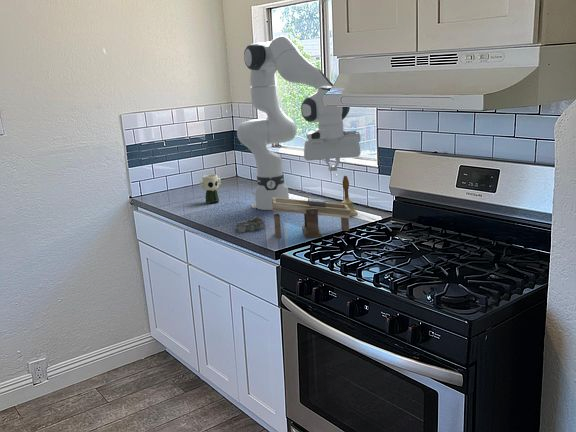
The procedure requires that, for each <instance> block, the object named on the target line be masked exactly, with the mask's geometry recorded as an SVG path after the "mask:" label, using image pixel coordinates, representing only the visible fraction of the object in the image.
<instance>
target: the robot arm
mask: <svg viewBox="0 0 576 432" xmlns="http://www.w3.org/2000/svg"><path fill="white" fill-rule="evenodd" d="M243 60H244V63H245V66H246V67H247V68H248V69H249V70H250V79H249V80H250V94H251V104H252V106H253V108H255V109H256V110H258V111H261V112H263V113H265V114H266V116H267V117H266V118H257V119H249V120H245V121H243V122H240V123H239V125H238V126H237V131H236V136H237V139H238V140H239V142H240V143H241V144H242V145H243V146H244V147H246V148H248V149H249V151H251V153H252V155H253V156H254V160H255V164H256V171H257V176H256V182H257V183H256V184H257V186H256V187H255V189H254V195H253V196H254V202H253V203H252V204H251V207H252V208H251V209H256V208H257V210H263V211H271V210H272V198H273V197H275V198H285V199H290V197H289V195H290V194H289V188H288V186H287V185H286V184H285V176H284V175H285V174H284V173H283V160H282V157H281V156H280V154H278V153H276V152H274V151H272V150H270V149H268V148H267V145H273V144H283V143H287V142H290V141H292V140H294V138H295V137H296V135H297V126H296V123H295V122H294V120H293V119H292V118H291V117H289V116H288V115H286V114H285V112H284V111H283V109H282V108H281V105H280V101H279V98H278V97H279V96H278V89H277V88H278V86H277V76H276V75H277V74H276V73H277V72H278V74H279V76H280V77H281V78H282V79H284V80H285V81H287V82H289V83H294V84H295V83H296V84H303V85H307V86H310V87H312V88H313V89H315V90H316V92H315V93H313V94H311V95H310V96H307V97H305V98H304V99H303V101H302V103H301V107H300V113H301V115H302V118H303V119H304V120H305V121H306V122H308V123H317V124H318V126H317V128H315V129H312V130H310V131H308V132H306V140H305V142H304V147H303V157H304V159H305V160H306V161H317V160H318V161H320V160H325V161H324V162H325V163H326V165H327V166H328V171H329V172H337V171H338V166H339V164H340V162H341V159H342V158H343V159H344V158H356V157H357V158H358V157H360V156H361V153H362V152H361V145H360V142H361V134H360V132H358V131H356V130H352V131H351V130H350V131H349V130H347V131H346V130H345V131H344V121H343V120H344V119H345V118H346V117H347V116H348V114H349V112H350V109H351V106H350V107H337V106H324V104H323V95H324V94H326V93H327V92H328V91H330V89H331V88H332V86H333V85H334V84H333V83H332V81H331V80H330V79H329V78H328V77H327V76H326V75H325V73H323V71H322V70H321V69H320V68H319V67H317V66H316V65H314V64H312V63H311V62H310V61H308V60H307V58H306V57H304V56H303V55H302V53H301V52H300V50H299V49H298V47H297V46H296V44H295V43H293V41H292V40H291V39H289V38H288V37H287V36H284V35H280V36H276V37H274V38H273V39H272V40H269V41H265V42H264V41H263V42H255V43H251V44H247V46H246V47H245V50H244V52H243ZM330 159H331V160H332V159H335V161H336V162H335V164H334V165H331V164H330V163H329V162H330V161H331V160H330ZM272 211H273V210H272Z"/></svg>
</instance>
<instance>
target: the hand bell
mask: <svg viewBox="0 0 576 432" xmlns="http://www.w3.org/2000/svg"><path fill="white" fill-rule="evenodd" d="M349 187H350V182H349V178H348V176H347V175H343V178H342V189H343V191H344V192H343V193H344V194H343V195H344V199H343V200H342V201H341V203H340V204H345V205H347V206H348V207H349V209H350V210H351V211H350V217H355V216H357V215H358V214H359V213H358V211H356V209H355V206H354V204H353V203H354V202H353V200H351V199H350V196H349V189H350V188H349Z"/></svg>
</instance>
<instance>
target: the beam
mask: <svg viewBox="0 0 576 432" xmlns="http://www.w3.org/2000/svg"><path fill="white" fill-rule="evenodd" d="M307 204H308V200H306V199H305V200H303V199H294V198H289V199H285V198H275V197H273V198H272V211H273V212H281V213H282V212H283V213H292V214H293V213H294V214H300V215H301V214H303V215H304V214H306V209H308V208H317V209H318V216H322V217H323V216H324V217H332V218H333V217H334V218H341V217H342V218H349V219H350V217H351V216H350V211H351V210H350V209H349V207H348V206H347V205H345V204H341V203H334V202H326V205H325V207H319V206H309V205H307Z"/></svg>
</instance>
